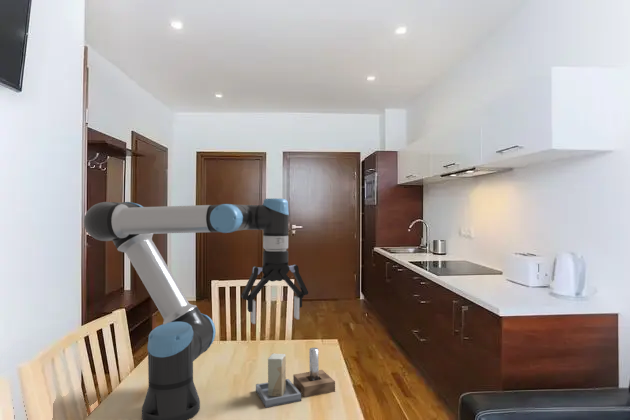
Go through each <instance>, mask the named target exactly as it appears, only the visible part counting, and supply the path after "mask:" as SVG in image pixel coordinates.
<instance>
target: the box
mask: <svg viewBox="0 0 630 420" xmlns="http://www.w3.org/2000/svg"><path fill="white" fill-rule="evenodd" d="M286 357H287V356H286V354H285V353H275V352H274V353H271V354H270V355H269V357H268V358H267V382H268V396H276V397H281V396H283V394H284V392H285V391H286V379H287V377H286V375H287V374H286V373H287V372H286V368H287V367H286V362H287V361H286Z"/></svg>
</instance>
